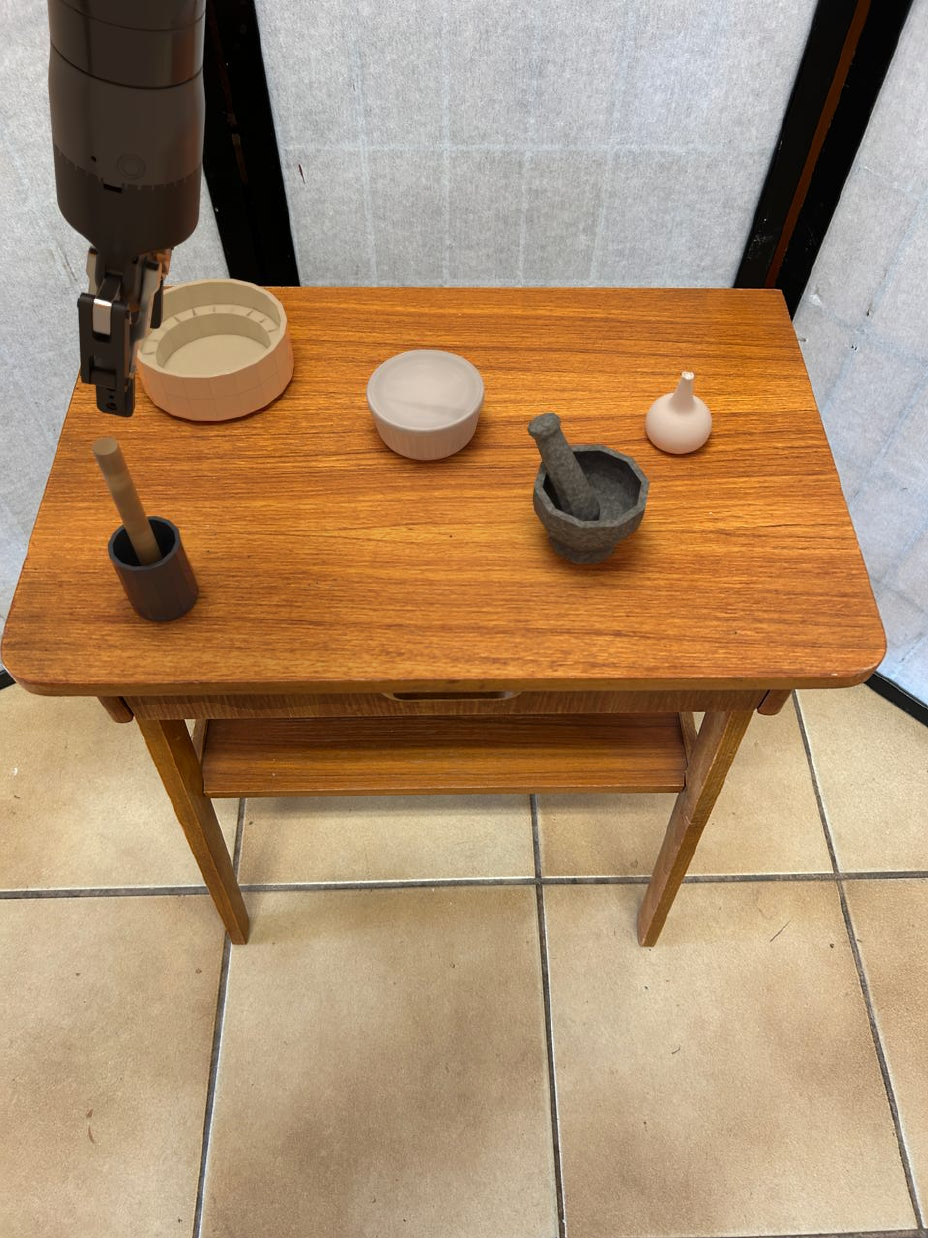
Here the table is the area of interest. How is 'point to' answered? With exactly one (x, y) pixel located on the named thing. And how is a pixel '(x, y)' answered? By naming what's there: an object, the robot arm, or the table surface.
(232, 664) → the table surface
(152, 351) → the bowl
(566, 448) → the mortar and pestle
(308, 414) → the table surface
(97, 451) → the stick
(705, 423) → the garlic bulb
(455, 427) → the ramekin
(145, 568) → the utensil pot
